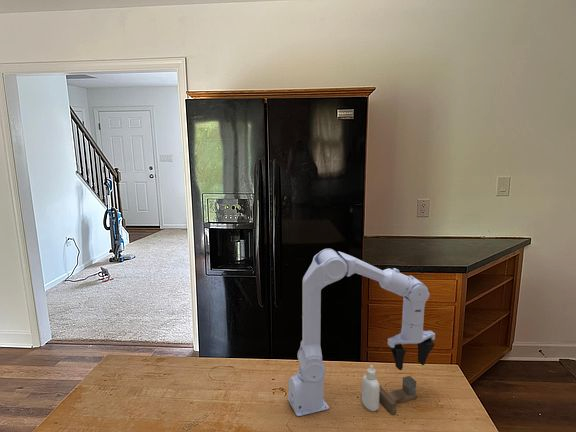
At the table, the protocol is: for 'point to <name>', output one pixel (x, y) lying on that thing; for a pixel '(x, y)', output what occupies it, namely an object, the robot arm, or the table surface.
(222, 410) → the table surface
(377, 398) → the eye dropper bottle
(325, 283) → the robot arm
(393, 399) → the grey hook bracket
